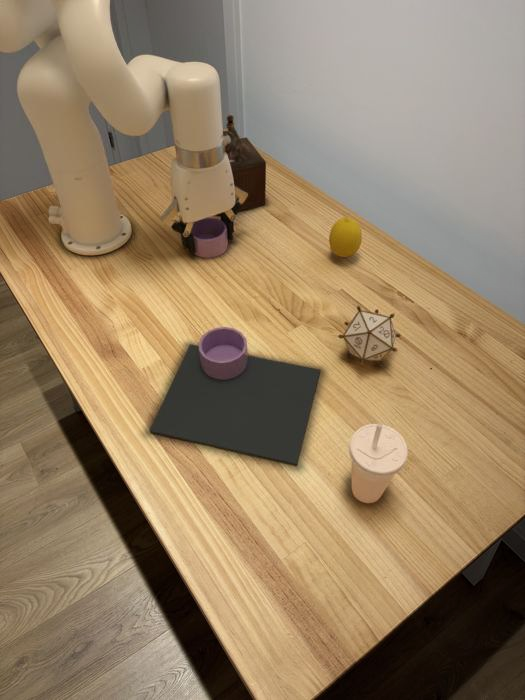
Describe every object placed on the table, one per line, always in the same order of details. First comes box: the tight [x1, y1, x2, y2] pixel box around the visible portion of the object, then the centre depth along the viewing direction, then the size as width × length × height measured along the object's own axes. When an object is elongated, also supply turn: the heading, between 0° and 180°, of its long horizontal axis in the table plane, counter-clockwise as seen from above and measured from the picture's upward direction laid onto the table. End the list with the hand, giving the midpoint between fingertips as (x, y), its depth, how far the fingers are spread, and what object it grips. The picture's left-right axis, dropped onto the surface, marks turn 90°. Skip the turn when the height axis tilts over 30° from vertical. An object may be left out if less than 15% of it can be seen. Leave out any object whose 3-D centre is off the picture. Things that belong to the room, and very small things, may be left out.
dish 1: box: [191, 216, 229, 259], centre depth 99 cm, size 7×7×4 cm
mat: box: [149, 343, 321, 467], centre depth 77 cm, size 20×16×1 cm
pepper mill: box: [217, 114, 267, 216], centre depth 102 cm, size 16×11×18 cm
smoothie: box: [348, 422, 409, 504], centre depth 63 cm, size 6×6×14 cm
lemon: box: [328, 217, 363, 258], centre depth 95 cm, size 6×6×8 cm
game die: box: [337, 304, 402, 367], centre depth 79 cm, size 9×8×10 cm
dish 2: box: [198, 326, 249, 380], centre depth 80 cm, size 7×7×4 cm
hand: (208, 242), depth 99 cm, fingers closed on dish 1, 6 cm apart
